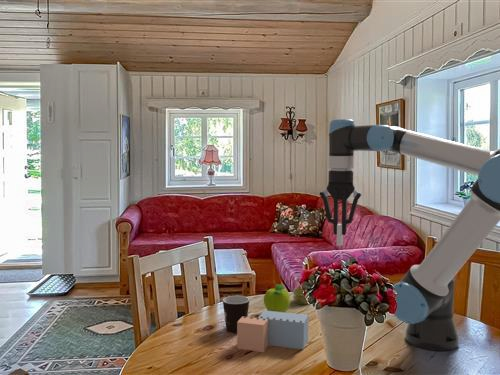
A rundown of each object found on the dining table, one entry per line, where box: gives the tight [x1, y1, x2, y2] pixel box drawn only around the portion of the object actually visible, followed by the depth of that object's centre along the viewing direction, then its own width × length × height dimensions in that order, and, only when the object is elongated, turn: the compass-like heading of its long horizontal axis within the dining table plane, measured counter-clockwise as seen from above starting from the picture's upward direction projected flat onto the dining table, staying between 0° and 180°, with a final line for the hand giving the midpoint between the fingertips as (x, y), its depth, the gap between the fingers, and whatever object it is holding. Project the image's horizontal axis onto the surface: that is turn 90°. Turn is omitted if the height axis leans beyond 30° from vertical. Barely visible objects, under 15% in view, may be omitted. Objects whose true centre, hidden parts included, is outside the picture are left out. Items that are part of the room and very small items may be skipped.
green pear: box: [292, 276, 309, 306], centre depth 186 cm, size 7×7×10 cm
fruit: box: [263, 283, 291, 313], centre depth 172 cm, size 9×9×10 cm
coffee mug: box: [222, 295, 250, 335], centre depth 159 cm, size 12×9×10 cm
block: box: [236, 316, 269, 353], centre depth 144 cm, size 8×5×8 cm, turn 72°
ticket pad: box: [257, 309, 309, 350], centre depth 148 cm, size 14×7×8 cm, turn 72°
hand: (339, 244), depth 153 cm, fingers closed
